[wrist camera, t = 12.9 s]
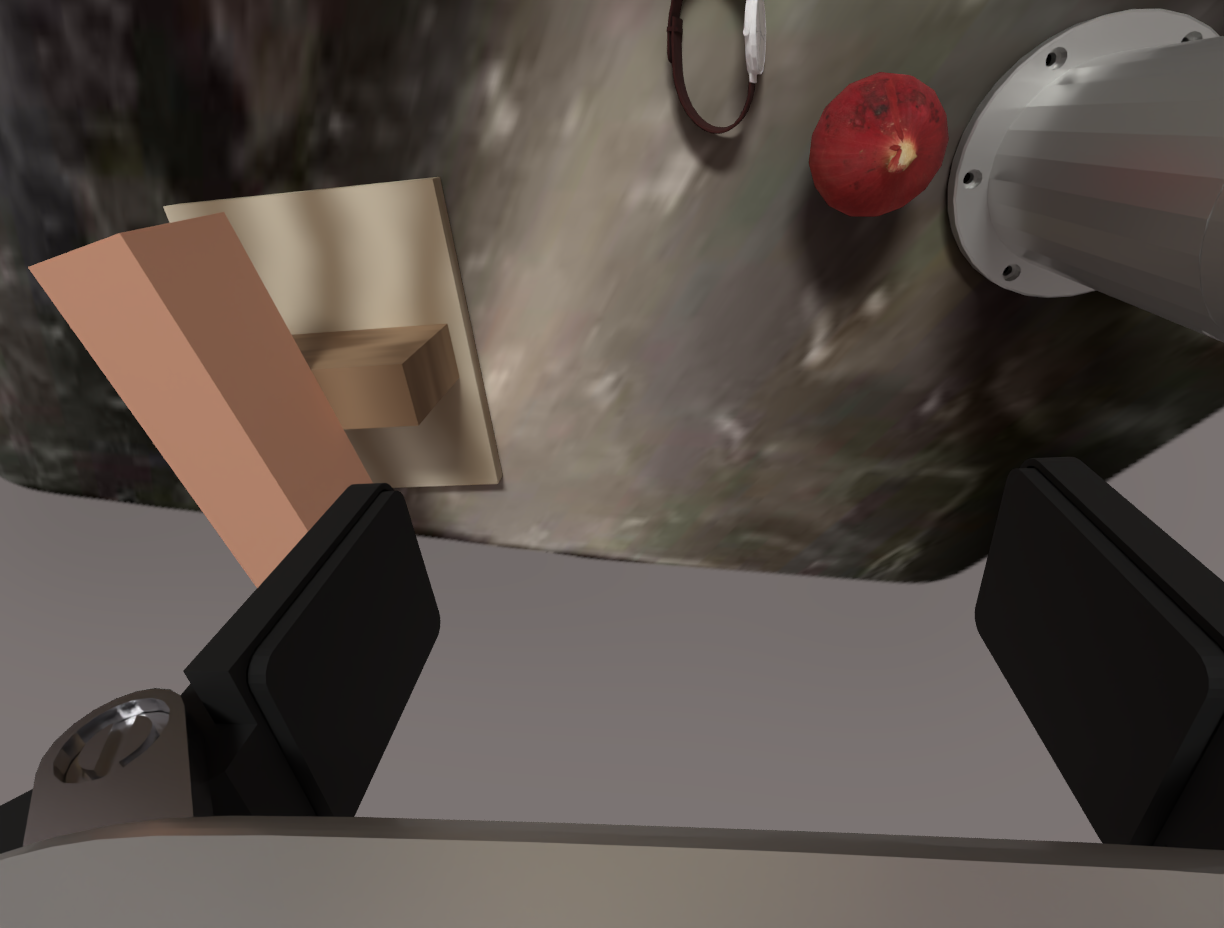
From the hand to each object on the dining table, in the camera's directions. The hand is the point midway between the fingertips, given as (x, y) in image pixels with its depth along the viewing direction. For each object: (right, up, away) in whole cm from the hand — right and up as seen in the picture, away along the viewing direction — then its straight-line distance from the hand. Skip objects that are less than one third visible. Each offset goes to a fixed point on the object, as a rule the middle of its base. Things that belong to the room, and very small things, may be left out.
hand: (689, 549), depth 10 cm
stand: (-18, +9, +30) cm, 36 cm away
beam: (-18, +5, +22) cm, 29 cm away
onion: (+11, +18, +22) cm, 30 cm away
